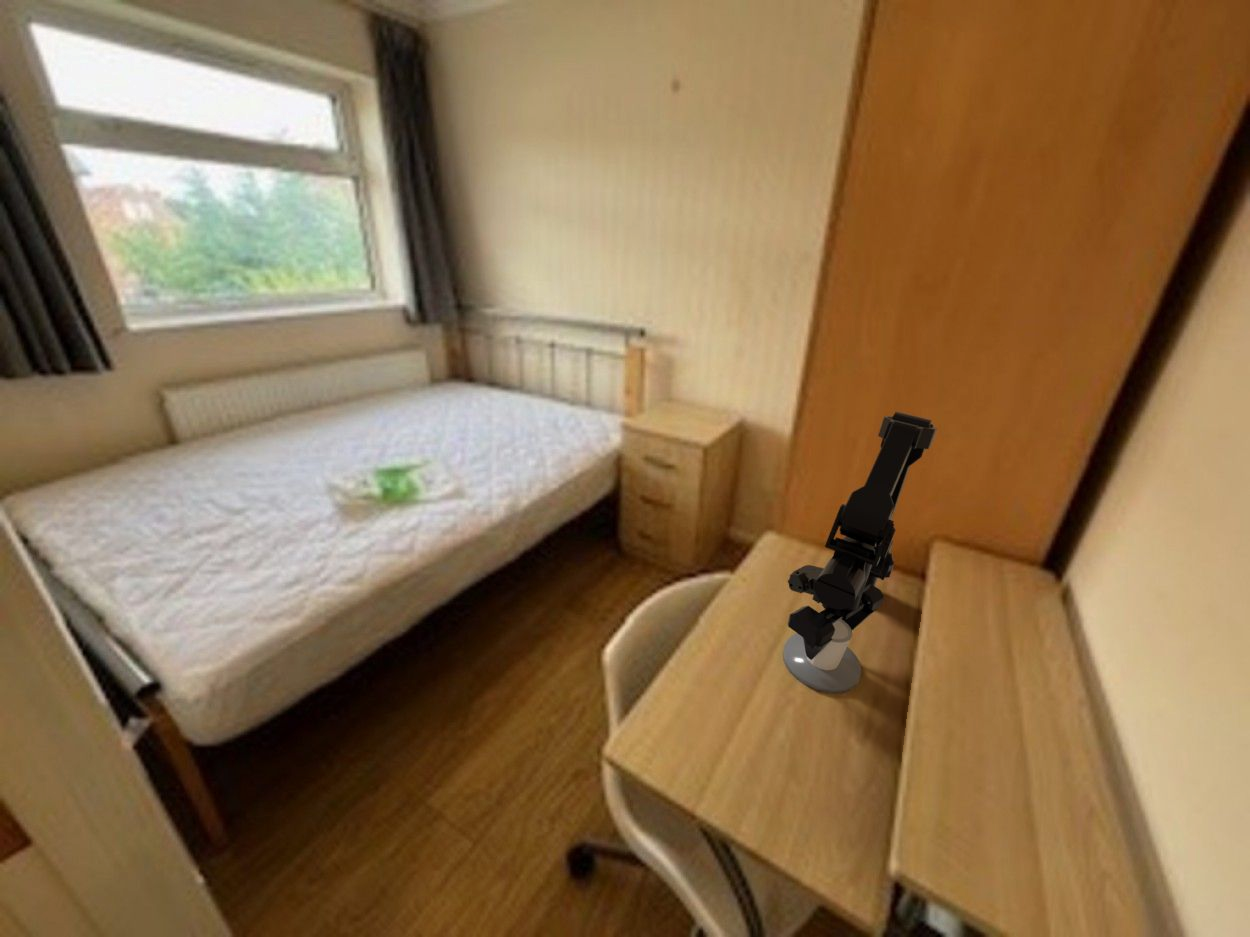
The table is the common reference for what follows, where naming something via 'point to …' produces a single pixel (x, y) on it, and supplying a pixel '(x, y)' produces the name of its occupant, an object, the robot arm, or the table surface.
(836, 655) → the white cup
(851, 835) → the table surface
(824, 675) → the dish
